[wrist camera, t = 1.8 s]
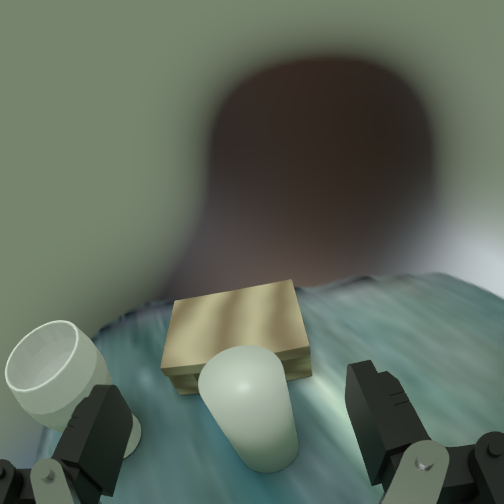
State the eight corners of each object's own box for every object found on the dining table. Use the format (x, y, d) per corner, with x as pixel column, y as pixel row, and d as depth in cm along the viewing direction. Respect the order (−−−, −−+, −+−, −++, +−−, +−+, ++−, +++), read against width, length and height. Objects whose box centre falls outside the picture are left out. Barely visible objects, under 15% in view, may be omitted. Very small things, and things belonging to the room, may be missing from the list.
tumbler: (276, 413, 30) (253, 333, 23) (311, 450, 25) (302, 379, 18) (229, 442, 27) (185, 371, 21) (260, 483, 23) (223, 429, 16)
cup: (85, 479, 23) (-7, 407, 16) (77, 414, 32) (10, 335, 25) (162, 458, 26) (83, 377, 19) (143, 391, 35) (85, 303, 28)
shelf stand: (296, 312, 43) (291, 279, 40) (312, 379, 33) (309, 345, 30) (188, 331, 44) (174, 300, 41) (179, 398, 33) (160, 368, 30)
